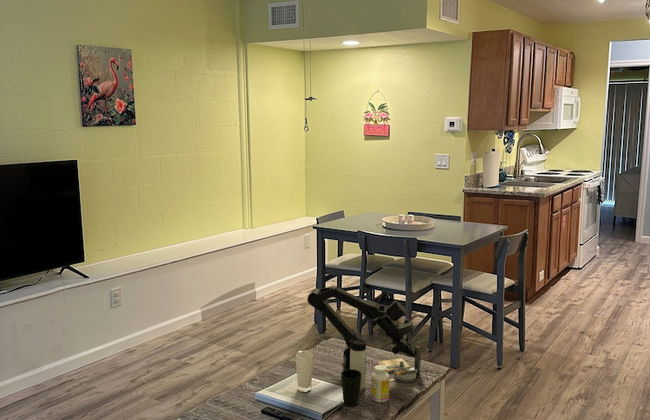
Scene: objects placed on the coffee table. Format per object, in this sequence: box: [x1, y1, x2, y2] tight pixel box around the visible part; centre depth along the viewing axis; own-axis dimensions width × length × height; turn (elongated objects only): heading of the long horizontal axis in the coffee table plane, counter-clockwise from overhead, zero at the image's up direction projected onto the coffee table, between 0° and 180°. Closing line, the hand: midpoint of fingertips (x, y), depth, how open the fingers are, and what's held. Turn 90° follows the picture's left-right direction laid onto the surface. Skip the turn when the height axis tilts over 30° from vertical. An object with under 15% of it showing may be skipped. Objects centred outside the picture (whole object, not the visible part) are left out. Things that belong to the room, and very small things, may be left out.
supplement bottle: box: [370, 364, 390, 403], centre depth 227 cm, size 7×7×13 cm
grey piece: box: [393, 345, 422, 384], centre depth 246 cm, size 12×9×12 cm
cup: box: [340, 369, 362, 408], centre depth 223 cm, size 8×8×12 cm
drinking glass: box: [295, 350, 314, 388], centre depth 234 cm, size 7×7×15 cm
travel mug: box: [350, 339, 367, 392], centre depth 235 cm, size 6×7×20 cm
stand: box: [376, 357, 412, 374], centre depth 256 cm, size 12×9×3 cm
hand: (414, 355), depth 249 cm, fingers closed
